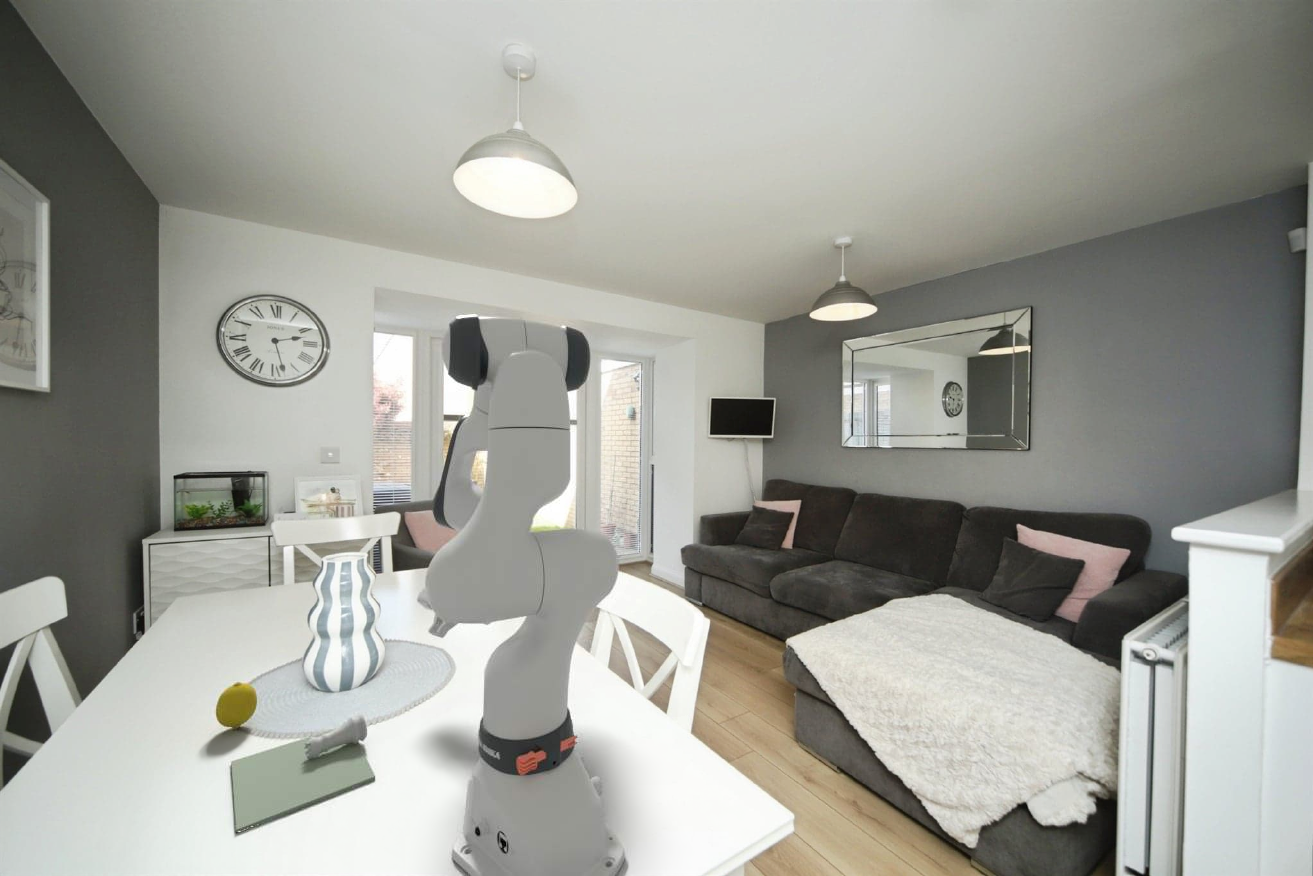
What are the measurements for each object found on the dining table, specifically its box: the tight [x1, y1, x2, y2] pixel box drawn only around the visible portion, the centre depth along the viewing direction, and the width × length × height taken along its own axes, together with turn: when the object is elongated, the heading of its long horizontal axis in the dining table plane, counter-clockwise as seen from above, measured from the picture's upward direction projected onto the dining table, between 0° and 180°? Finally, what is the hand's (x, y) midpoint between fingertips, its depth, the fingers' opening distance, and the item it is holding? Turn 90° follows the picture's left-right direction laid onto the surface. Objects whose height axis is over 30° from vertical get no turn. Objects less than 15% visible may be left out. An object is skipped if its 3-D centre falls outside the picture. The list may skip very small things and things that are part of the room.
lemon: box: [215, 681, 258, 730], centre depth 87 cm, size 6×6×8 cm
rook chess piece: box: [305, 713, 368, 759], centre depth 81 cm, size 4×4×8 cm
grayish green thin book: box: [230, 727, 376, 833], centre depth 76 cm, size 18×16×1 cm
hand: (435, 635), depth 94 cm, fingers closed
